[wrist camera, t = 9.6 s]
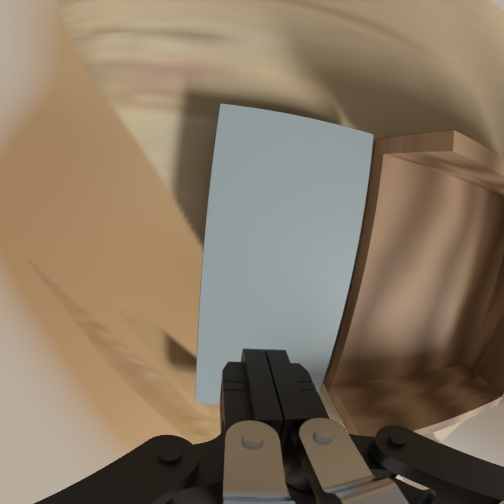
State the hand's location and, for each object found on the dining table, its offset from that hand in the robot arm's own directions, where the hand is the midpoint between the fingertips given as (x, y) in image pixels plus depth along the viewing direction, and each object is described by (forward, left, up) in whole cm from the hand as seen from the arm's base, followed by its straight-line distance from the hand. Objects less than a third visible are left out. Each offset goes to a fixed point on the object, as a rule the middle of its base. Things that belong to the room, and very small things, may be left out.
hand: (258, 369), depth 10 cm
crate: (-19, 0, -12) cm, 23 cm away
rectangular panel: (-8, 0, -11) cm, 13 cm away
